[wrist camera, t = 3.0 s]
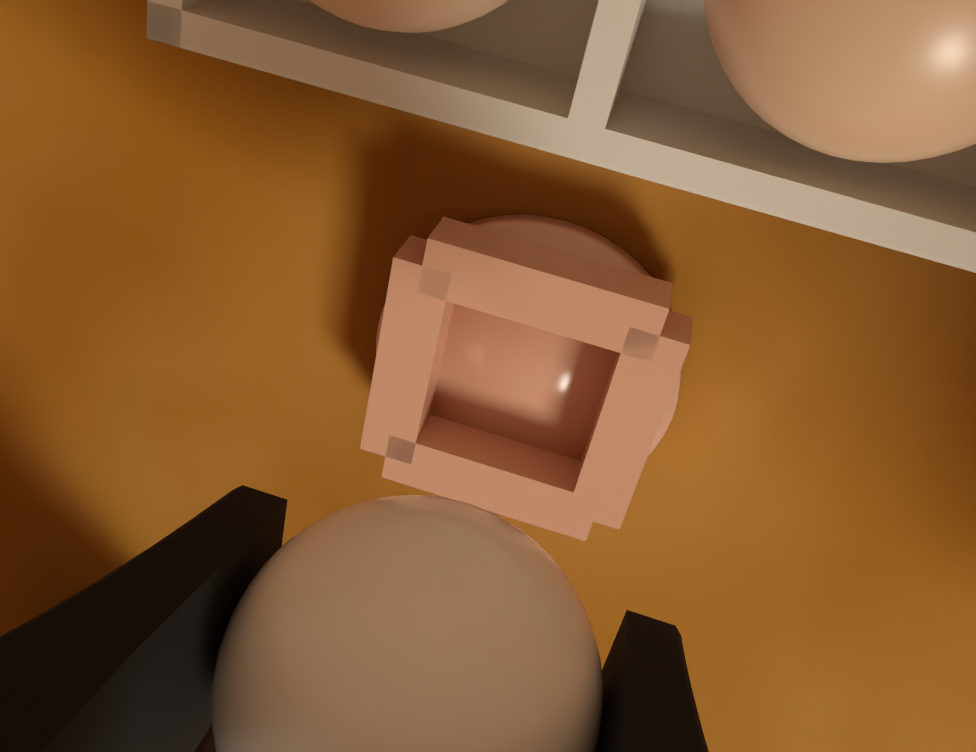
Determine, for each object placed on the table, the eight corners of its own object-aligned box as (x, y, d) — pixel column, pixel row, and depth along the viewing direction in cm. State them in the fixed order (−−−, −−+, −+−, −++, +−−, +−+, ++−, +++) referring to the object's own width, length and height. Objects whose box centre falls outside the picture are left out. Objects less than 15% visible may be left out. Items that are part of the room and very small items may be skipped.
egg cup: (725, 266, 16) (726, 306, 14) (630, 513, 19) (622, 566, 17) (411, 176, 16) (383, 207, 15) (366, 431, 19) (339, 476, 18)
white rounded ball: (666, 487, 11) (634, 806, 8) (573, 717, 14) (512, 1049, 10) (323, 380, 12) (131, 634, 8) (290, 622, 14) (129, 907, 10)
